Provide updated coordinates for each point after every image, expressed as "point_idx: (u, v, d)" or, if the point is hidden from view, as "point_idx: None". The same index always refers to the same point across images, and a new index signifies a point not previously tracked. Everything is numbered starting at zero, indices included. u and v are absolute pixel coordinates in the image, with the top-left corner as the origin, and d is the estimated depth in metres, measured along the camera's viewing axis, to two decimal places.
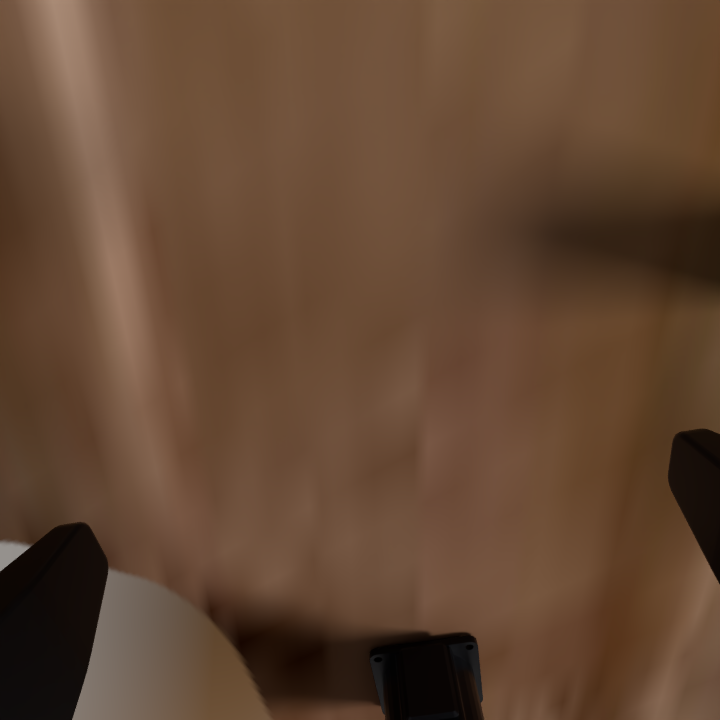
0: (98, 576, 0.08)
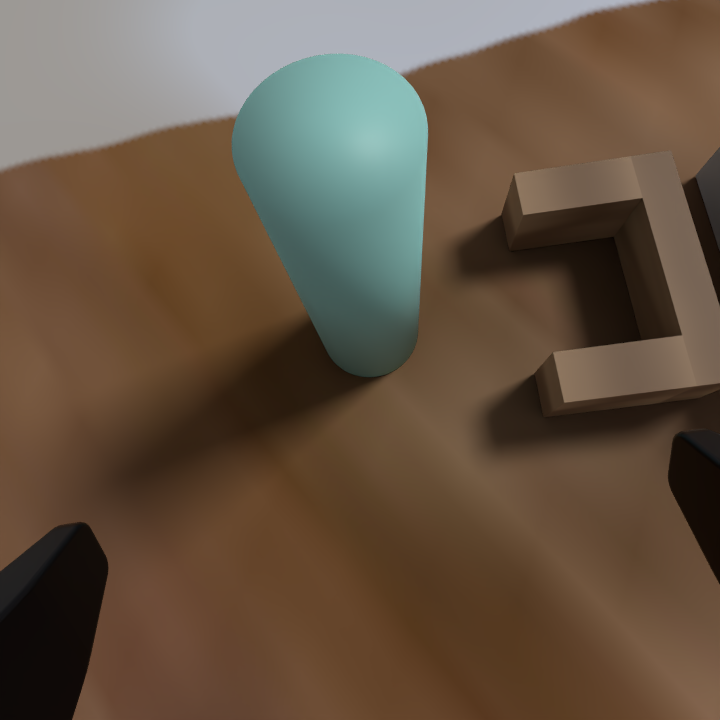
0: (98, 576, 0.08)
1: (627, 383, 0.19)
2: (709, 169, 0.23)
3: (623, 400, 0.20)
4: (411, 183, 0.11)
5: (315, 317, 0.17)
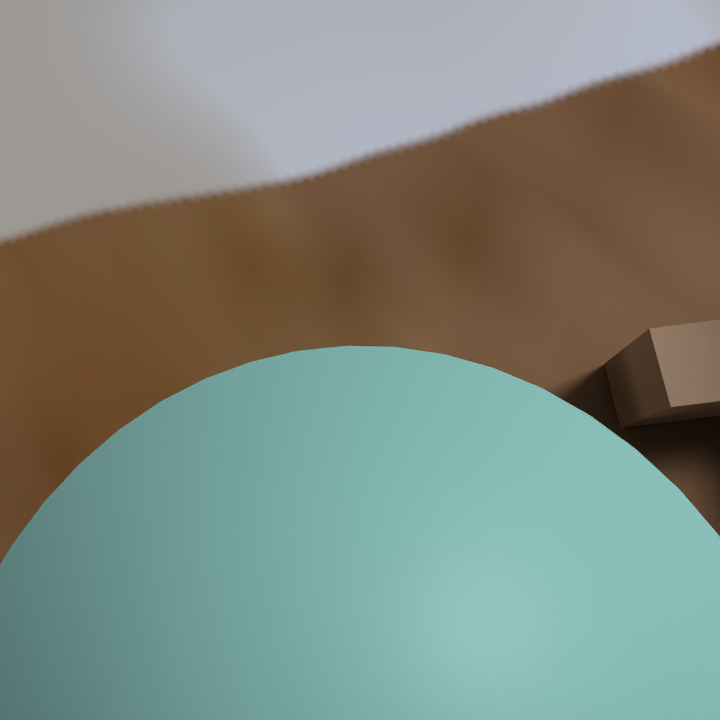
0: None
1: None
2: None
3: None
4: None
5: None
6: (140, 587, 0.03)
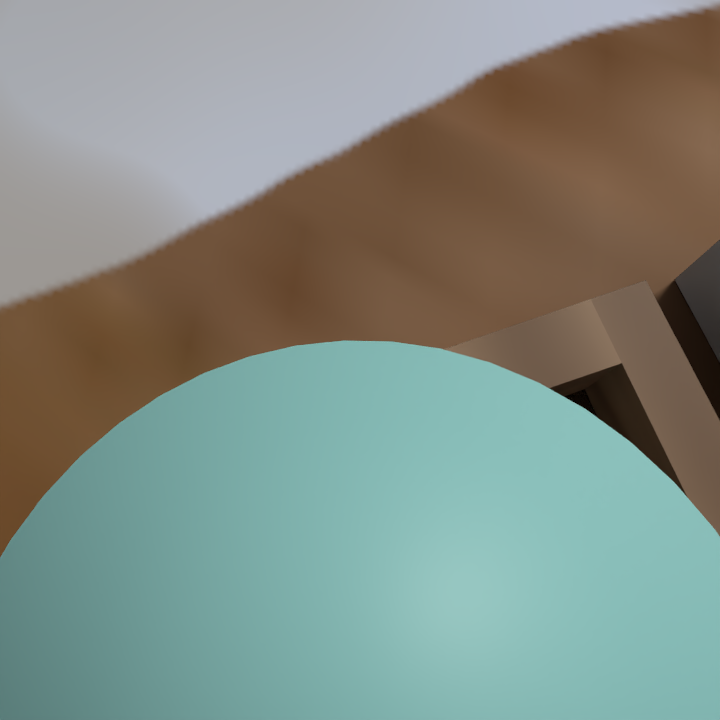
0: None
1: None
2: (695, 276, 0.16)
3: None
4: None
5: None
6: (138, 580, 0.03)
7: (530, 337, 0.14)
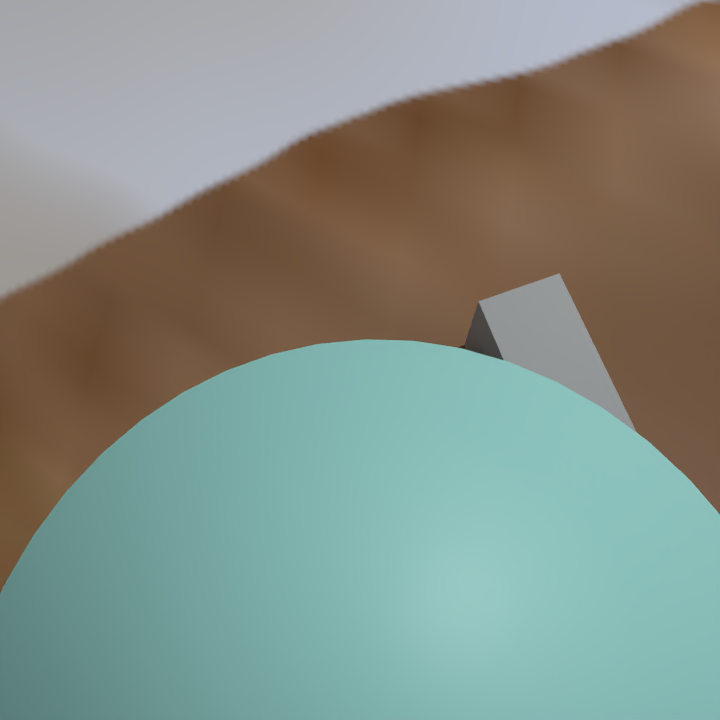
0: None
1: None
2: None
3: None
4: None
5: None
6: (164, 574, 0.03)
7: None
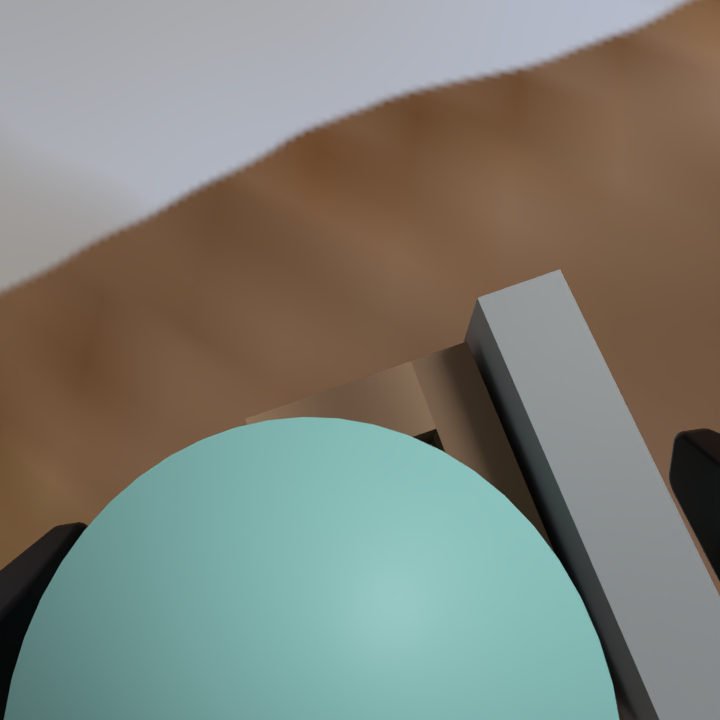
0: None
1: None
2: None
3: None
4: None
5: None
6: (154, 592, 0.04)
7: (348, 401, 0.14)
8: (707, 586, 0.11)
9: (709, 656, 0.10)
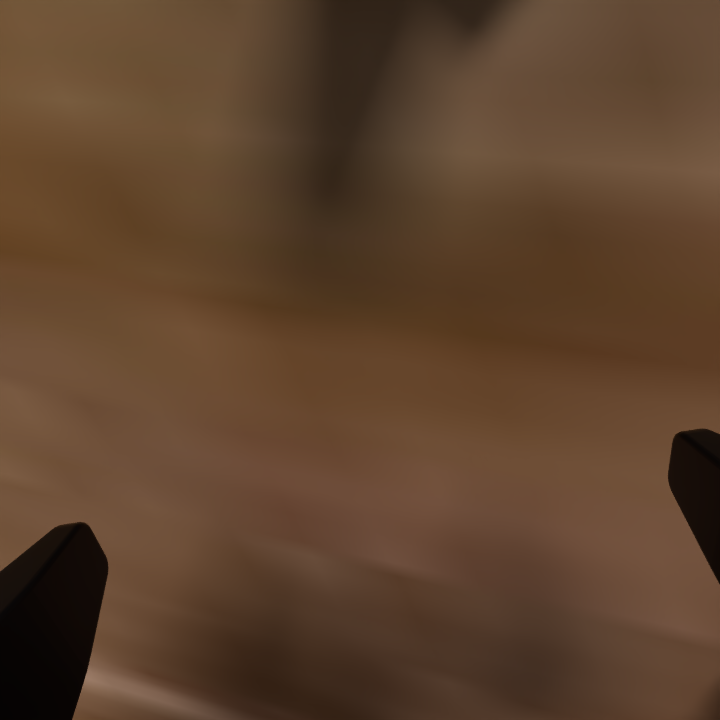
0: (98, 576, 0.08)
1: None
2: None
3: None
4: None
5: None
6: None
7: None
8: None
9: None
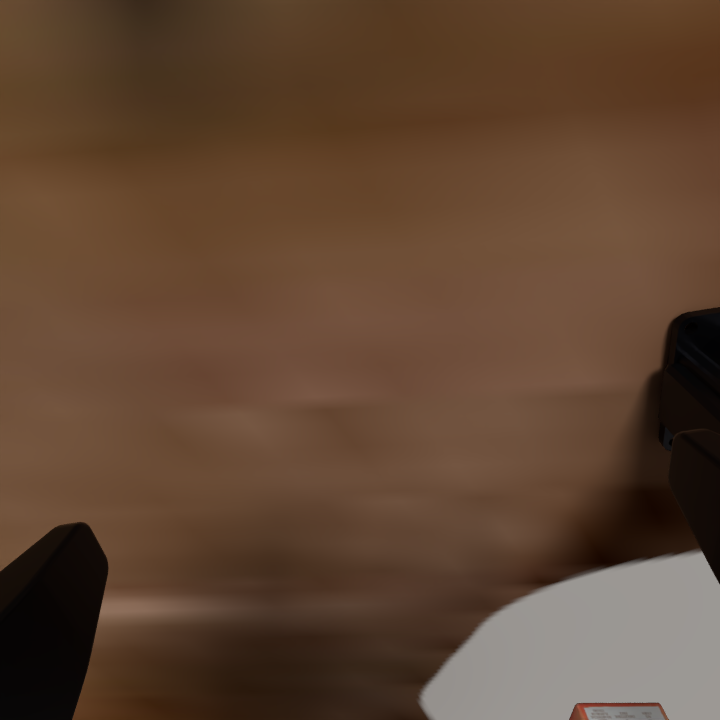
0: (98, 576, 0.08)
1: None
2: None
3: None
4: None
5: None
6: None
7: None
8: None
9: None
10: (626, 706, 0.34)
